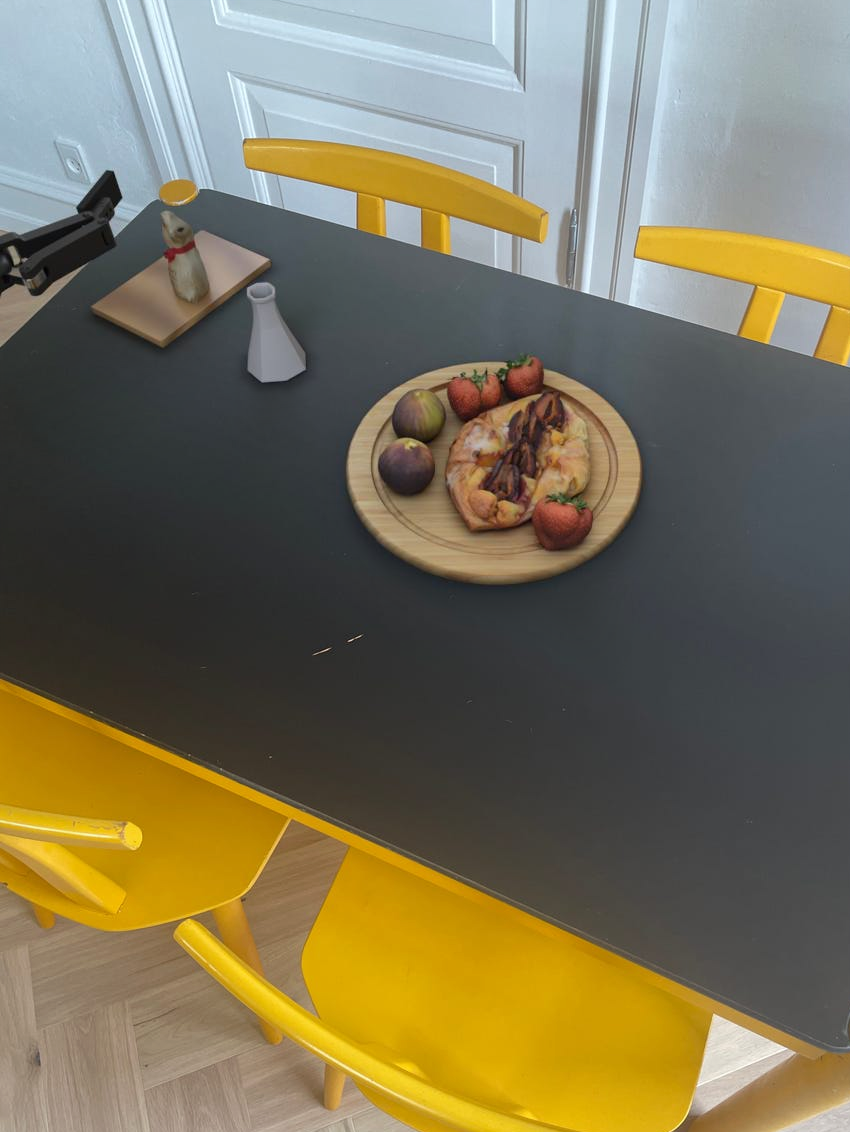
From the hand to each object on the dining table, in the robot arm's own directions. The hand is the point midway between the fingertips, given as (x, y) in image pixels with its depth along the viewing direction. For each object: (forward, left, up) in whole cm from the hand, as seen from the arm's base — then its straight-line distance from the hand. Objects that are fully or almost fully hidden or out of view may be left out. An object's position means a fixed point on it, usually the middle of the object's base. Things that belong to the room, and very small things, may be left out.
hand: (50, 174), depth 87 cm
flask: (+18, -1, -23) cm, 29 cm away
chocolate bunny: (+6, +14, -22) cm, 27 cm away
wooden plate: (+43, -20, -23) cm, 53 cm away
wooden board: (+5, +14, -23) cm, 27 cm away
